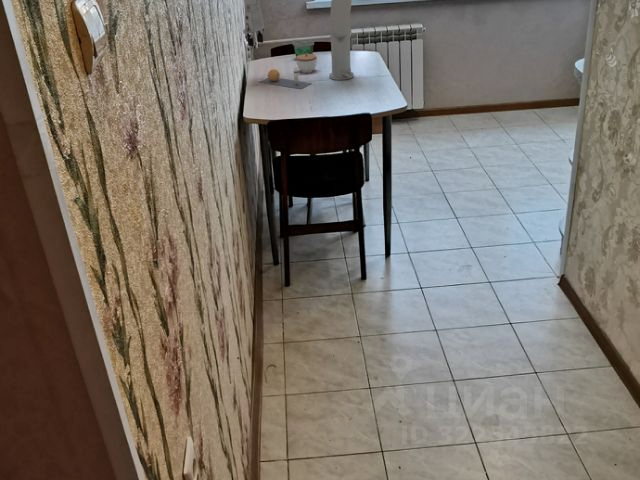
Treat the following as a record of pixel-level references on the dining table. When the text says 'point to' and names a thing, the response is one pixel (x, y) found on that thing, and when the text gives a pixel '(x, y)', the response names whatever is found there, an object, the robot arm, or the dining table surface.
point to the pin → (296, 76)
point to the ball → (273, 75)
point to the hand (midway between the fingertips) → (255, 43)
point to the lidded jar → (306, 62)
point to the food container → (303, 47)
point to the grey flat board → (286, 83)
